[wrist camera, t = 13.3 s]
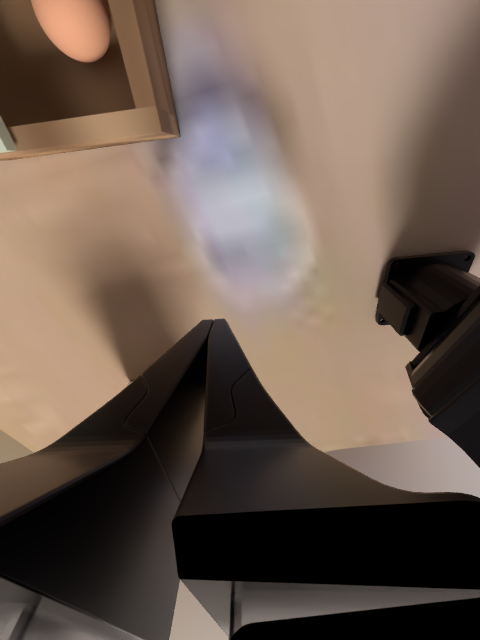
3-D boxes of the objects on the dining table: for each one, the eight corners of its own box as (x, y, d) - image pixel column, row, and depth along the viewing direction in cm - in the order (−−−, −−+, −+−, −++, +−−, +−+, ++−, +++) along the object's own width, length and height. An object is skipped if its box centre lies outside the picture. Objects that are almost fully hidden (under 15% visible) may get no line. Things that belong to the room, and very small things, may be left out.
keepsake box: (126, -145, 11) (64, -303, 7) (180, 136, 16) (161, 131, 13) (-121, -92, 12) (-292, -208, 8) (9, 159, 17) (-56, 161, 13)
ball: (107, -25, 12) (69, -75, 10) (129, 65, 14) (103, 44, 11) (45, -14, 12) (-9, -60, 10) (75, 74, 14) (36, 55, 12)
